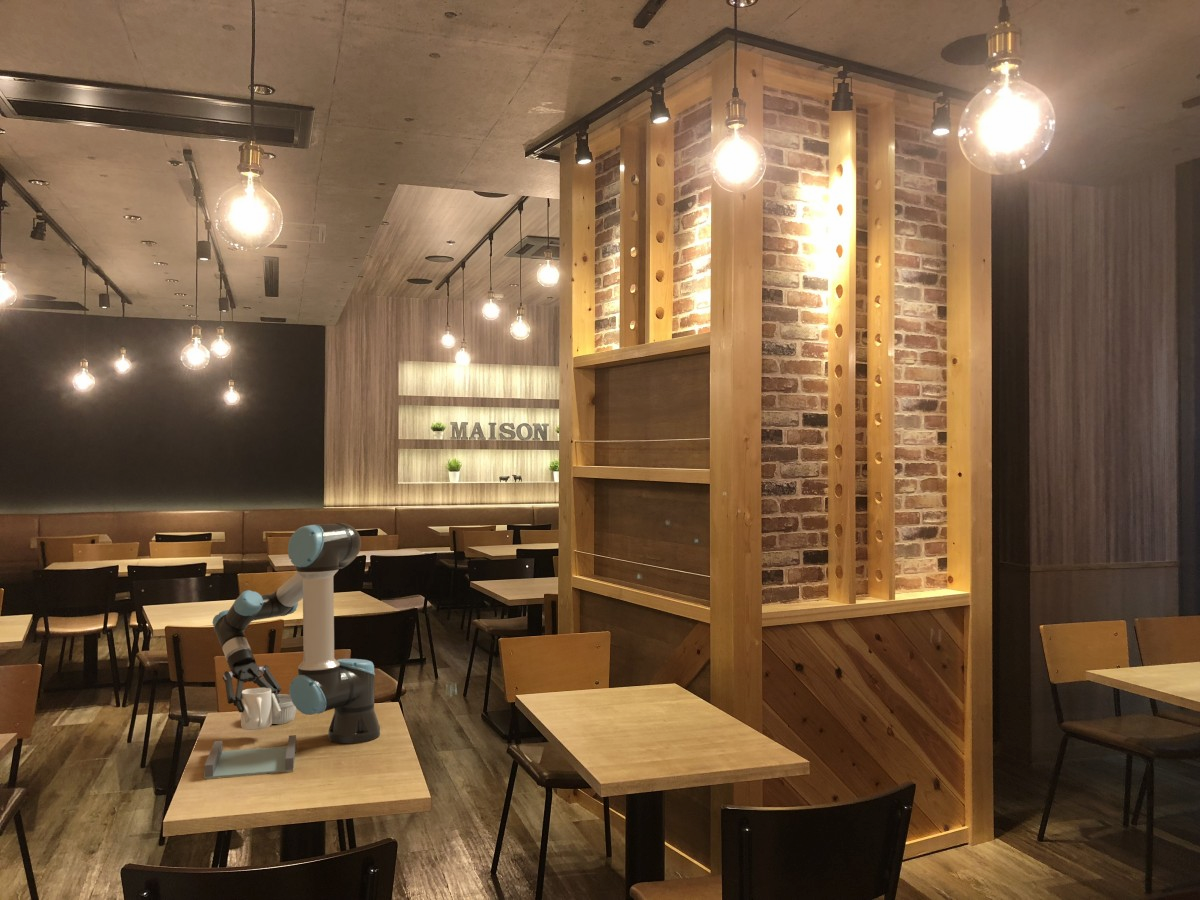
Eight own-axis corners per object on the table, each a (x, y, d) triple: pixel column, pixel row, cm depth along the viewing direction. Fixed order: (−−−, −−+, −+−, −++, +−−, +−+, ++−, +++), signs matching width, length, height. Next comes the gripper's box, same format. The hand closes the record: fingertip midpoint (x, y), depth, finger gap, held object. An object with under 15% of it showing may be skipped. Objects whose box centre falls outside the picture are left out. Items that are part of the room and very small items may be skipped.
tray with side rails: (214, 754, 264) (214, 741, 264) (296, 747, 270) (296, 735, 270) (204, 779, 242) (204, 765, 242) (293, 771, 249) (293, 758, 249)
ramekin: (253, 728, 289) (254, 706, 290) (253, 717, 302) (253, 696, 302) (298, 724, 294) (298, 702, 294) (296, 713, 306) (296, 692, 307)
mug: (244, 735, 269) (243, 697, 269) (239, 725, 279) (239, 689, 279) (275, 730, 273) (275, 694, 273) (269, 721, 283) (269, 686, 283)
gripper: (268, 657, 295) (293, 717, 284) (200, 668, 280) (224, 731, 268) (275, 642, 292) (301, 702, 280) (208, 653, 276) (232, 716, 265)
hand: (263, 716), depth 274 cm, fingers closed on mug, 8 cm apart
